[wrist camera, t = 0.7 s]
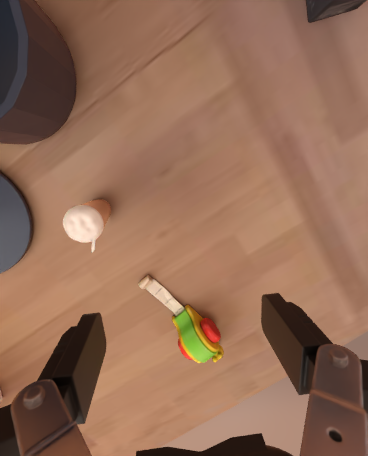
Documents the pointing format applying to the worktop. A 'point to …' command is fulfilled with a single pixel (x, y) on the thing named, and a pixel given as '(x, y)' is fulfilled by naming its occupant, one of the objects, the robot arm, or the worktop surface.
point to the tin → (32, 74)
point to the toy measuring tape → (188, 326)
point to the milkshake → (87, 221)
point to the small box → (330, 8)
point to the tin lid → (13, 225)
